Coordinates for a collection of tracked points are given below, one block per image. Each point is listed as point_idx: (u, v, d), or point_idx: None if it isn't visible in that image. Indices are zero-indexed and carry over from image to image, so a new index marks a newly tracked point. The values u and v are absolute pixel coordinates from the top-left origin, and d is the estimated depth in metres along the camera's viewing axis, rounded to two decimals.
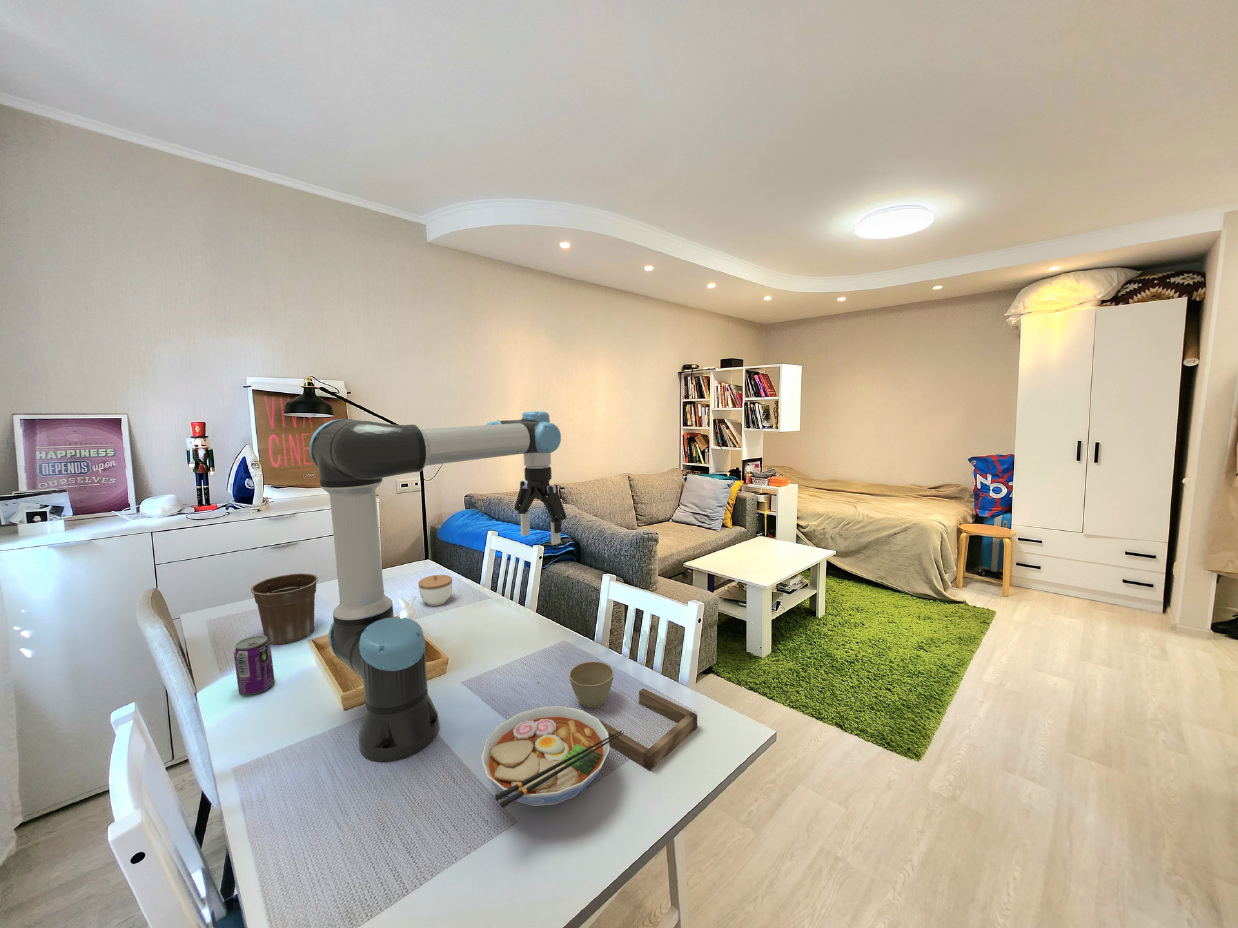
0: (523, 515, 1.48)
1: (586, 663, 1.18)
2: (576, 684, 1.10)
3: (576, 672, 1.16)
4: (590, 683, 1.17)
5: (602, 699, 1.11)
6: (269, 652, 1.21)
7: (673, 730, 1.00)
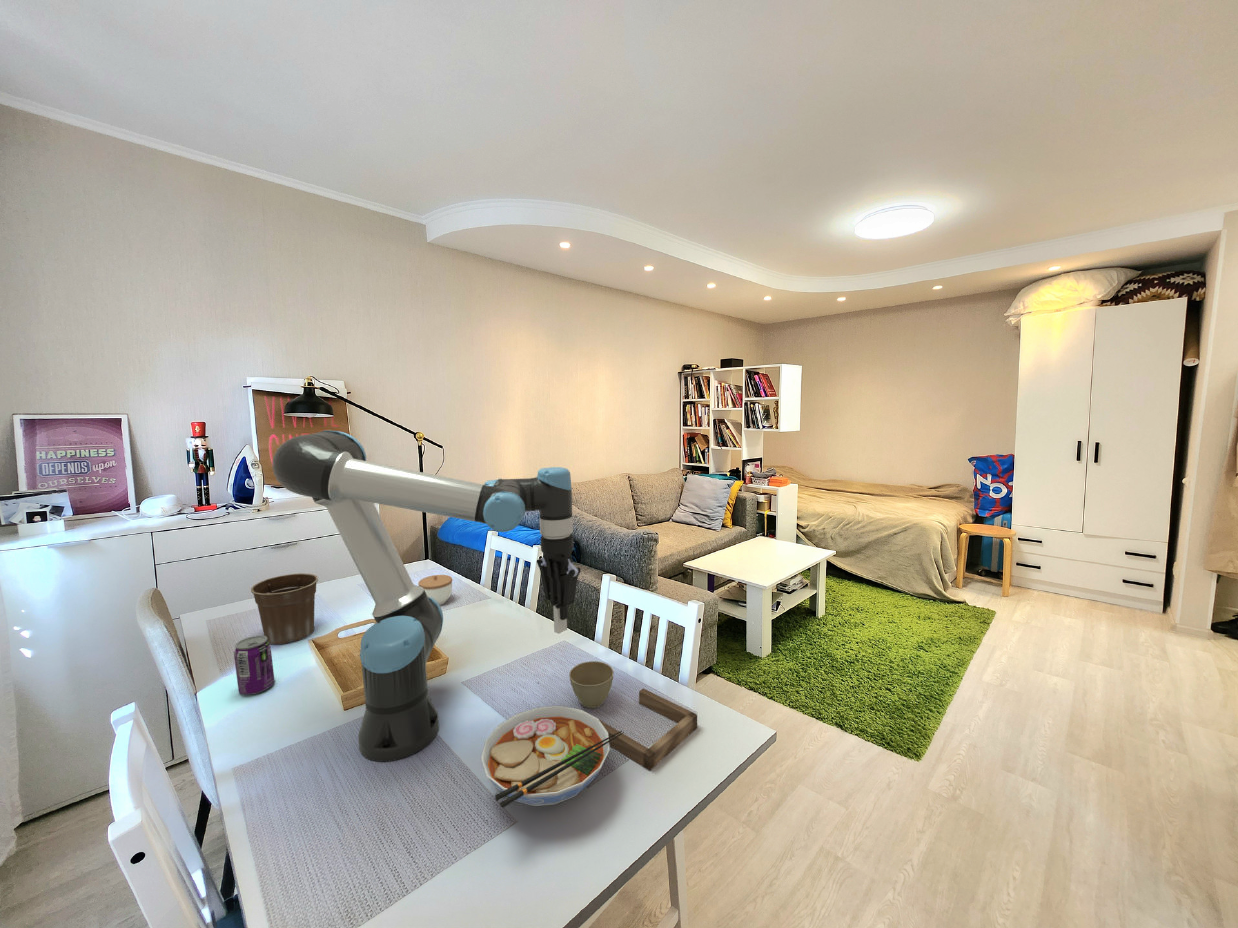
0: None
1: (586, 663, 1.18)
2: (576, 684, 1.10)
3: (576, 672, 1.16)
4: (590, 683, 1.17)
5: (602, 699, 1.11)
6: (269, 652, 1.21)
7: (673, 730, 1.00)
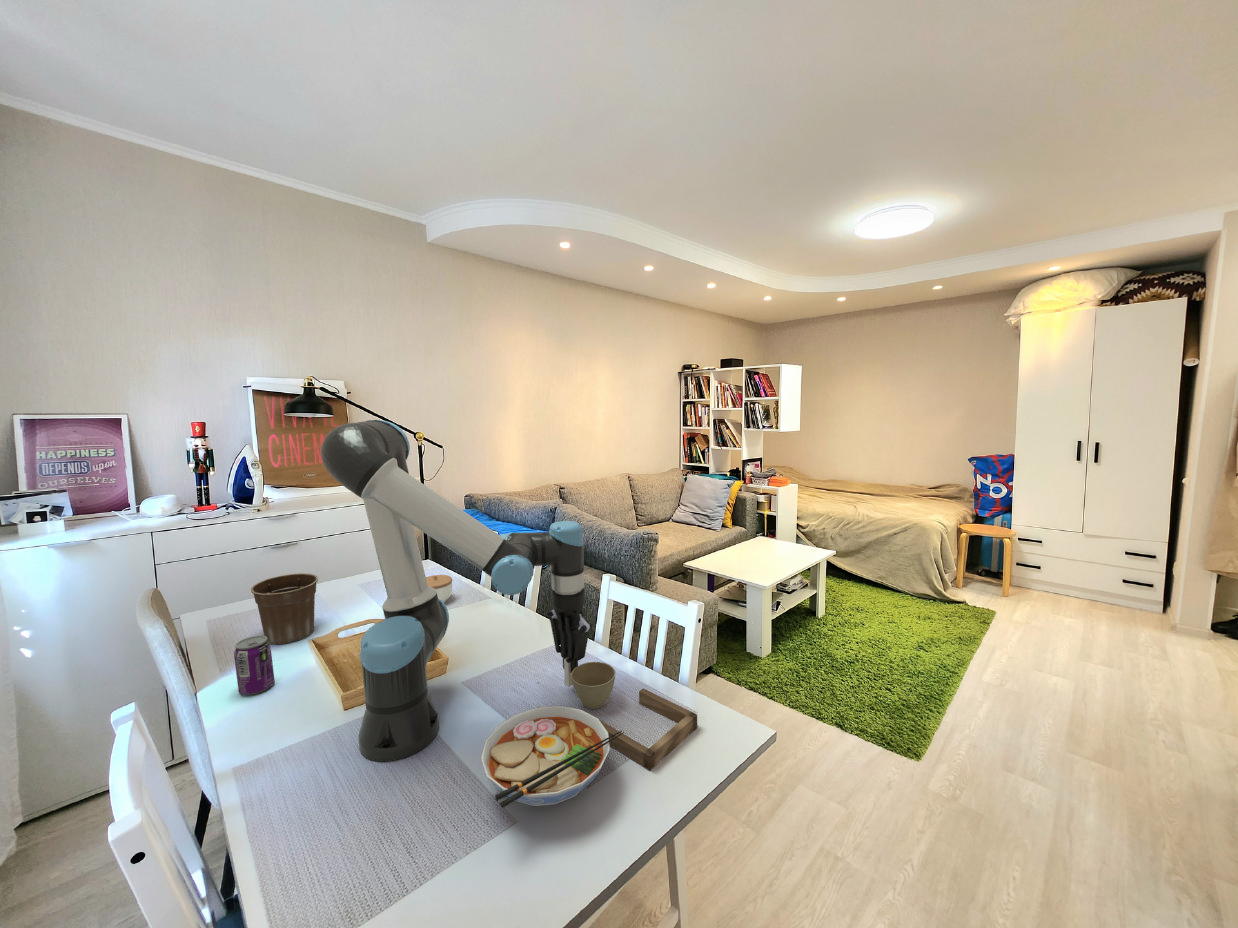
0: None
1: (588, 664, 1.18)
2: (578, 685, 1.09)
3: (578, 673, 1.16)
4: (592, 684, 1.17)
5: (604, 700, 1.11)
6: (269, 652, 1.21)
7: (673, 730, 1.00)
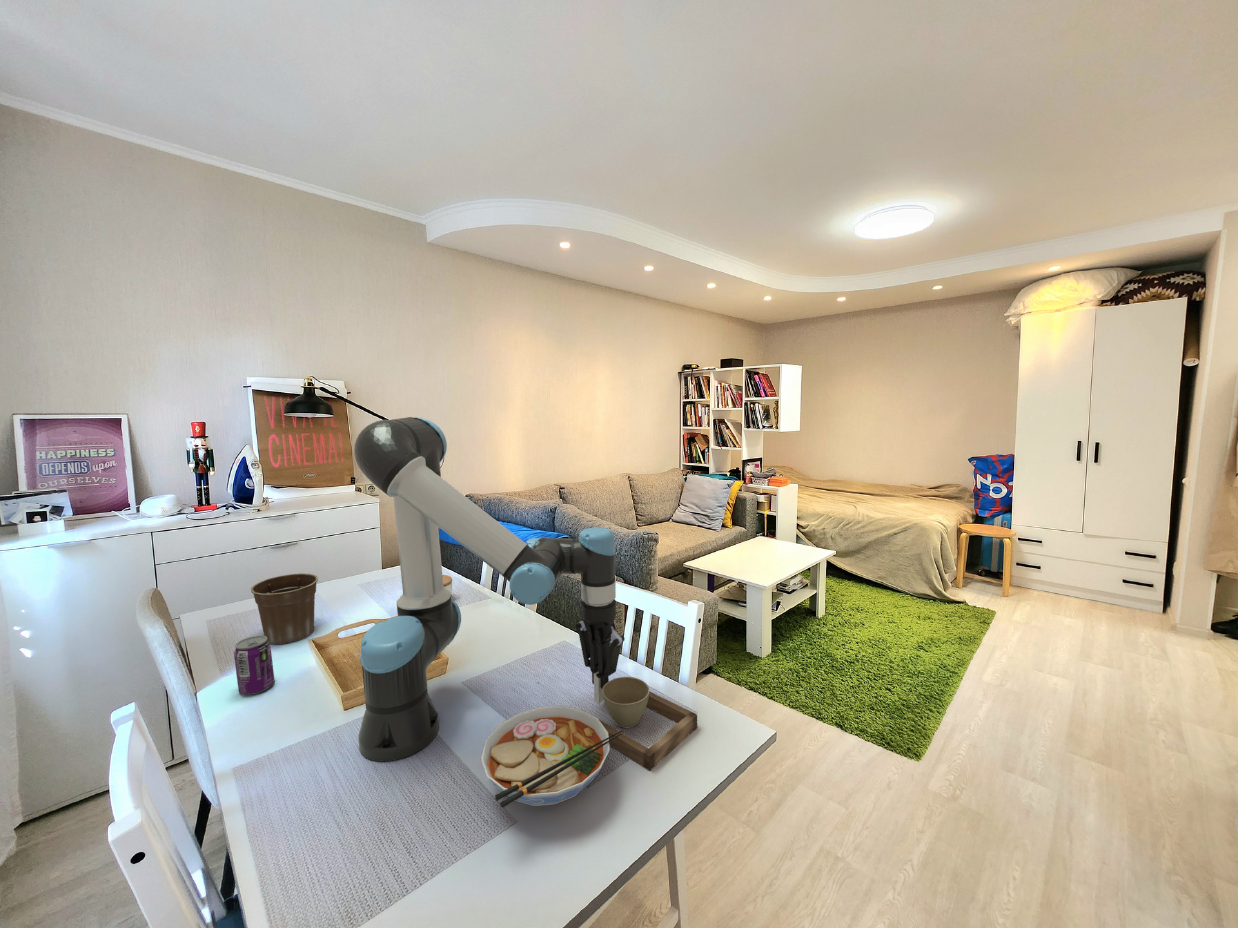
0: None
1: (619, 679, 1.11)
2: (610, 702, 1.03)
3: (609, 689, 1.10)
4: (623, 700, 1.11)
5: (638, 718, 1.04)
6: (269, 652, 1.21)
7: (673, 730, 1.00)
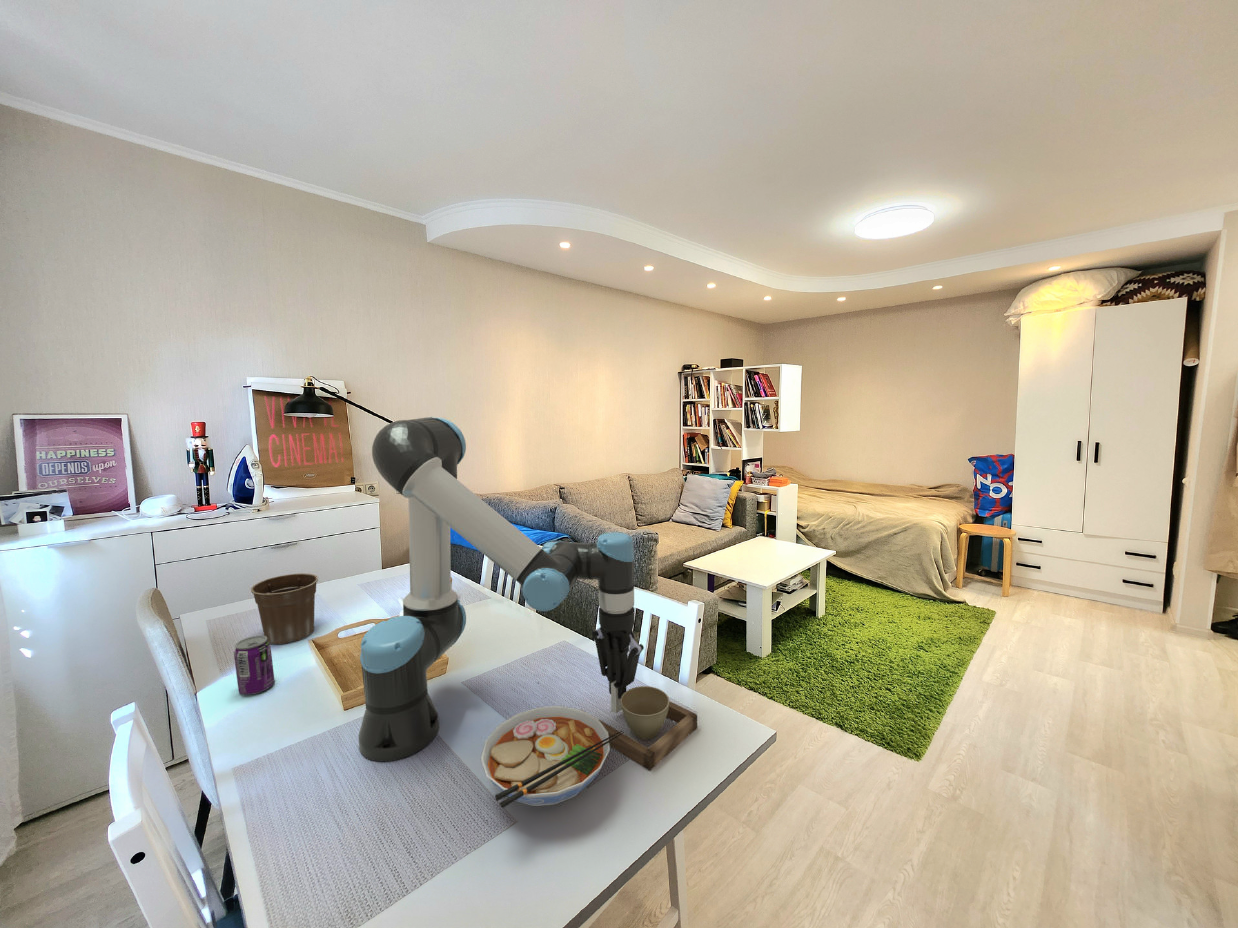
0: None
1: (637, 688, 1.08)
2: (629, 713, 0.99)
3: (627, 698, 1.06)
4: (642, 710, 1.07)
5: (657, 730, 1.01)
6: (269, 652, 1.21)
7: (673, 730, 1.00)
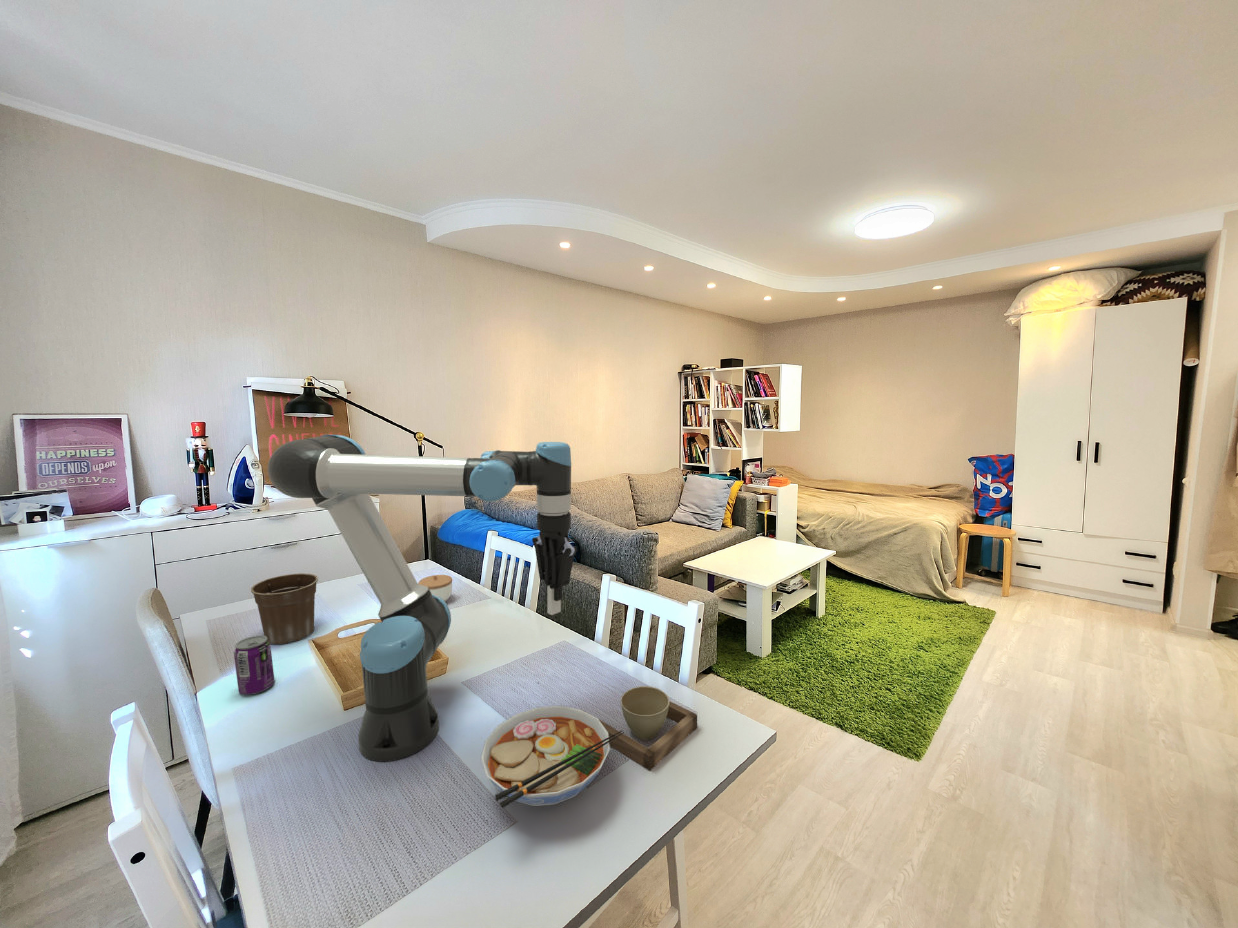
0: (551, 587, 1.14)
1: (637, 688, 1.08)
2: (629, 713, 0.99)
3: (627, 698, 1.06)
4: (642, 710, 1.07)
5: (657, 730, 1.01)
6: (269, 652, 1.21)
7: (673, 730, 1.00)
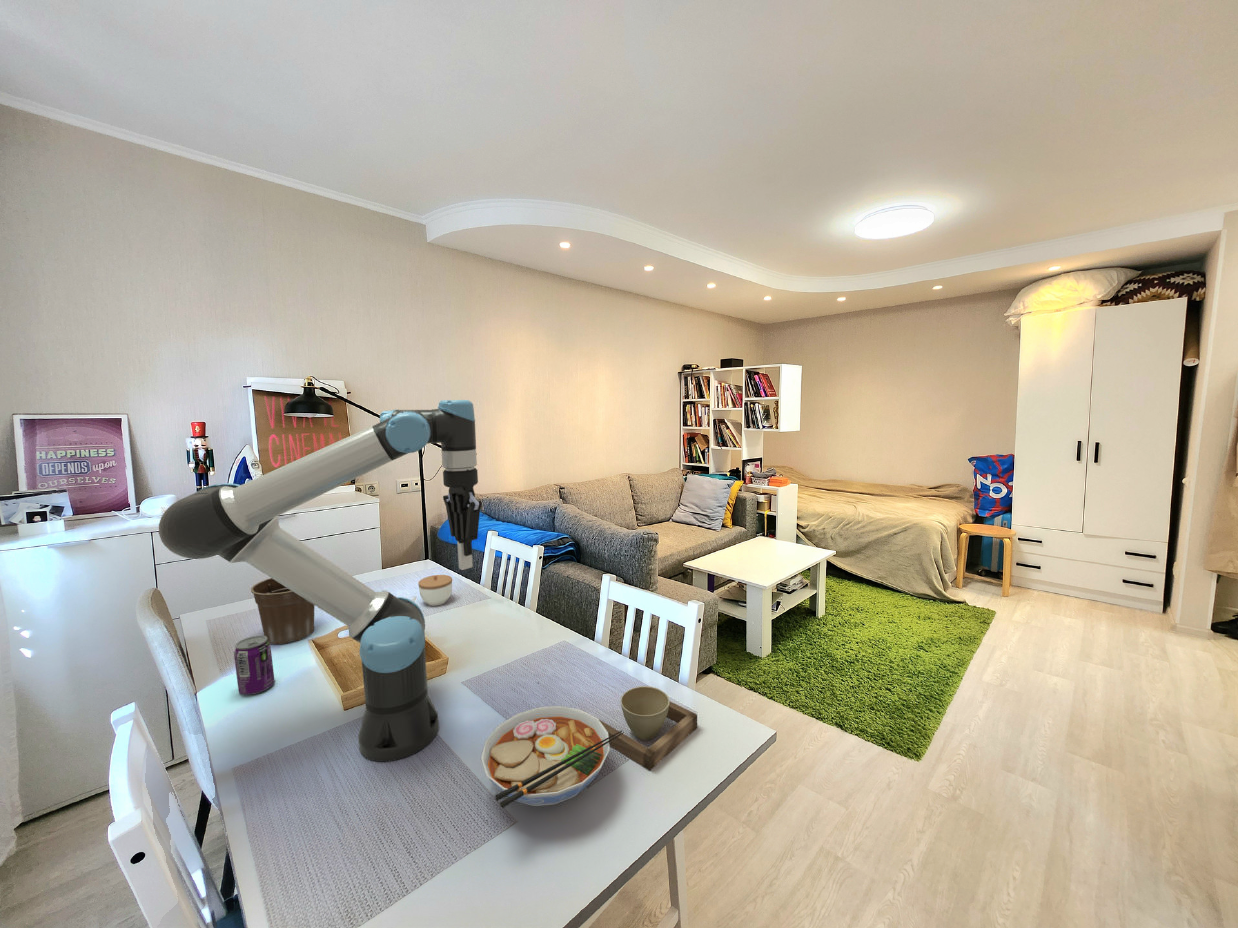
0: (461, 543, 1.16)
1: (637, 688, 1.08)
2: (629, 713, 0.99)
3: (627, 698, 1.06)
4: (642, 710, 1.07)
5: (657, 730, 1.01)
6: (269, 652, 1.21)
7: (673, 730, 1.00)
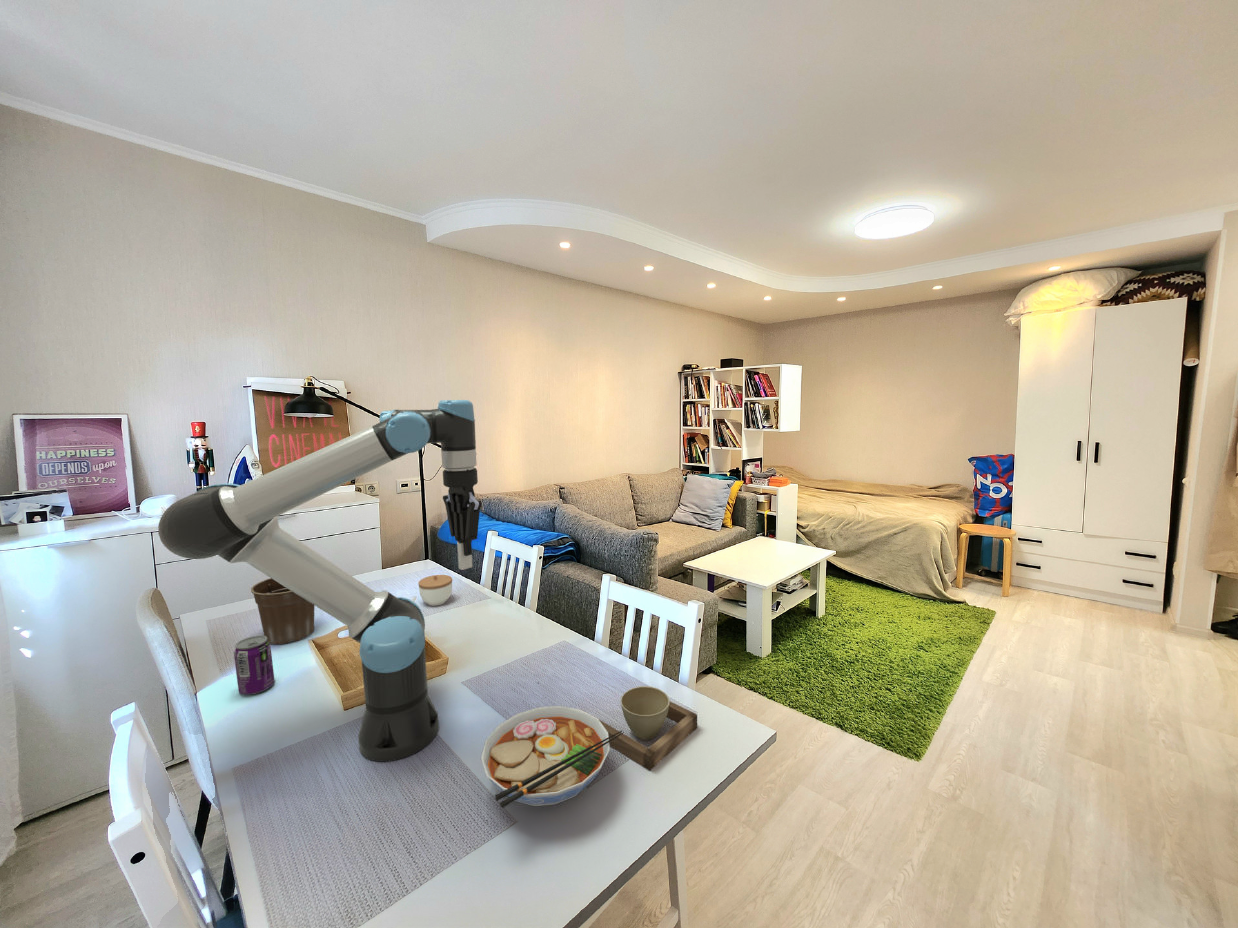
0: (461, 543, 1.16)
1: (637, 688, 1.08)
2: (629, 713, 0.99)
3: (627, 698, 1.06)
4: (642, 710, 1.07)
5: (657, 730, 1.01)
6: (269, 652, 1.21)
7: (673, 730, 1.00)
